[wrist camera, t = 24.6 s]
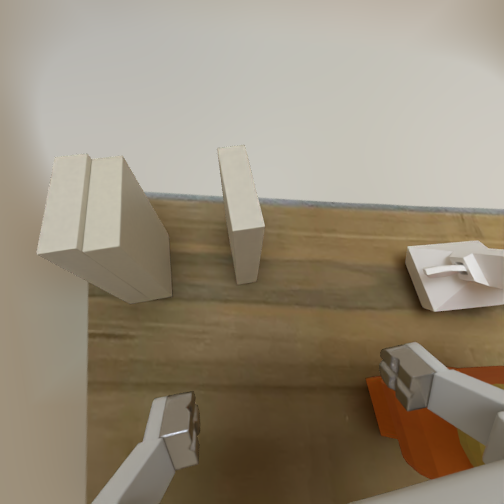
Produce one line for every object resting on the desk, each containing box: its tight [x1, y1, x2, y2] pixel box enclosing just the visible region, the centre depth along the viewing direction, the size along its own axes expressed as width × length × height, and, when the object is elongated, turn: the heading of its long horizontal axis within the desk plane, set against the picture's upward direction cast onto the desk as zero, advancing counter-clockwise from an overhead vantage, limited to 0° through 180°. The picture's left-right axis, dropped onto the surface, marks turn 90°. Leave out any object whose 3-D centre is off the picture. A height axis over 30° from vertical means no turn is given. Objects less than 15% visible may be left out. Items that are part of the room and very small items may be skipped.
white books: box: [36, 154, 172, 304], centre depth 25 cm, size 5×9×15 cm, turn 11°
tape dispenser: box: [405, 241, 504, 312], centre depth 26 cm, size 8×14×14 cm, turn 96°
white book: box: [217, 145, 265, 285], centre depth 27 cm, size 3×9×14 cm, turn 11°
